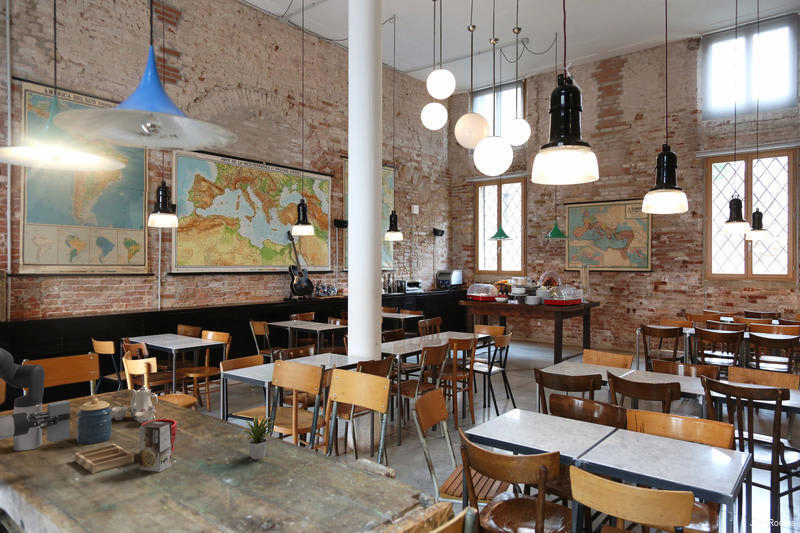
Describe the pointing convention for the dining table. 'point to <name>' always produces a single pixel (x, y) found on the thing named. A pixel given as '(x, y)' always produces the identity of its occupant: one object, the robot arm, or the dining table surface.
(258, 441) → the house plant
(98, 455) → the tray
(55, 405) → the gray rectangular block
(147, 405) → the chinaware
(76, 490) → the dining table surface
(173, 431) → the plant pot
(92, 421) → the canister
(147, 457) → the coffee box
